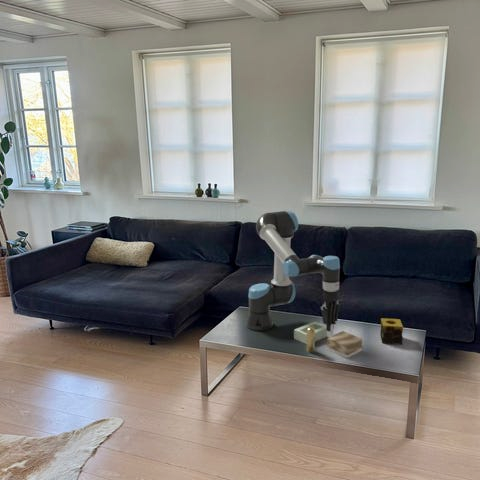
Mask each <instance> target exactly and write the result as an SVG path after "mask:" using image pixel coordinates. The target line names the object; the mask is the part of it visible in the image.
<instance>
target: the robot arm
mask: <svg viewBox="0 0 480 480" xmlns="http://www.w3.org/2000/svg"><path fill="white" fill-rule="evenodd" d="M298 229H299V220H298V217H297V216H296V214H295V212H293V211H290V210H283V211H273V212H266V213H264V214H262V215H260V217H259V218H258V219H257V221H256V226H255V230H256V233H257V234H258V236H259V237H260V239H262V240H264V241H265V242H266V244H267V245H268V246H269V247H270V249H271V250H272V251H273V252H274V255H273V256H274V260H273V261H274V262H273V263H274V265H273V279H271V280H270V284H268V283H266V282H265V283H257V284H253V285H251V286H250V287H249V289H248V295H247V296H248V315H247V318H246V319H245V320H246V321H245V326H246V327H247V329H250V330H253V331H266V330H269V329H272V328H273V325H274V322H273V321H274V320H273V318H272V314H271V310H270V308H271V307H275V306H280V305H287V304H290V303H292V302H293V301H294V299H295V297H296V288H295V285H294V283H293V281H292V280H291V279H290V277H298V276H304V275H310V274H316V273H317V274H320V275H322V297H323V304H322V305H320V306H319V309H320V312H321V318H322V324H323V325H325V326H326V330H327V338H329V337H330V338H332V337H333V335H334V329H335V325H336V324H337V323H336V322H337V321H338V317H339V314H340V313H339V311H340V308H341V304H342V301H341V300H339V298H340V270H341V265H340V257H338V256H336V255H327V256H324V257H323V256H321V255H318V254H312V255H310V256H309V257H307V258H306V257H305V258H299V257H298V256H297V254H296V253H295V252H294V250H293V249H292V248H291V239H293V238H294V235H295V234H294V233H295V232H296V231H297V230H298Z"/></svg>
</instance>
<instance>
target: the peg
mask: <svg viewBox="0 0 480 480" xmlns="http://www.w3.org/2000/svg"><path fill="white" fill-rule="evenodd" d="M315 343H316V342H315V328H314V327H307V338H306V344H305V345H306V348H305V350H306V352H307V353H315Z"/></svg>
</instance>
